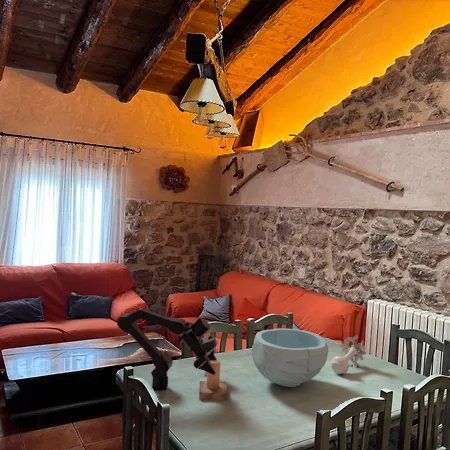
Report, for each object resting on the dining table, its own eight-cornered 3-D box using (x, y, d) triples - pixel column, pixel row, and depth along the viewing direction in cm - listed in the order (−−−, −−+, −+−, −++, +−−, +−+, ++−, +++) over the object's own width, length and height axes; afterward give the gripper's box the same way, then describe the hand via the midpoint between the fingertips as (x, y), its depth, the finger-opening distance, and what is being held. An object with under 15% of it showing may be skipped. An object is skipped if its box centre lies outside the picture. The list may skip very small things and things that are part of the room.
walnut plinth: (199, 399, 185) (199, 392, 185) (199, 387, 197) (199, 381, 197) (226, 399, 186) (227, 392, 186) (225, 388, 198) (225, 381, 198)
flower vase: (345, 389, 219) (367, 365, 236) (349, 359, 212) (371, 337, 230) (322, 377, 227) (345, 355, 245) (326, 348, 221) (348, 327, 238)
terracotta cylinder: (209, 389, 188) (210, 364, 187) (204, 384, 193) (206, 360, 192) (220, 388, 190) (222, 363, 189) (216, 383, 195) (217, 359, 194)
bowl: (300, 367, 229) (302, 326, 228) (340, 395, 196) (343, 347, 195) (239, 373, 216) (241, 330, 215) (271, 404, 183) (274, 353, 183)
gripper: (202, 337, 182) (226, 366, 180) (210, 326, 200) (233, 352, 199) (183, 354, 183) (207, 382, 182) (193, 341, 202) (215, 367, 200)
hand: (216, 370), depth 191 cm, fingers open, 9 cm apart
